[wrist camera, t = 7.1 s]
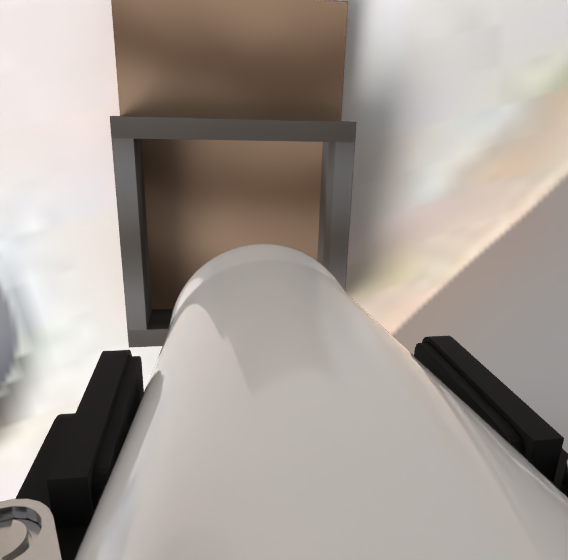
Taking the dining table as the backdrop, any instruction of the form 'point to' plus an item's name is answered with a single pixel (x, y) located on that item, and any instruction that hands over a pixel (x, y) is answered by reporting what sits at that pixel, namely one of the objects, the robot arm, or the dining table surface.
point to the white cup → (309, 438)
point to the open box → (226, 140)
